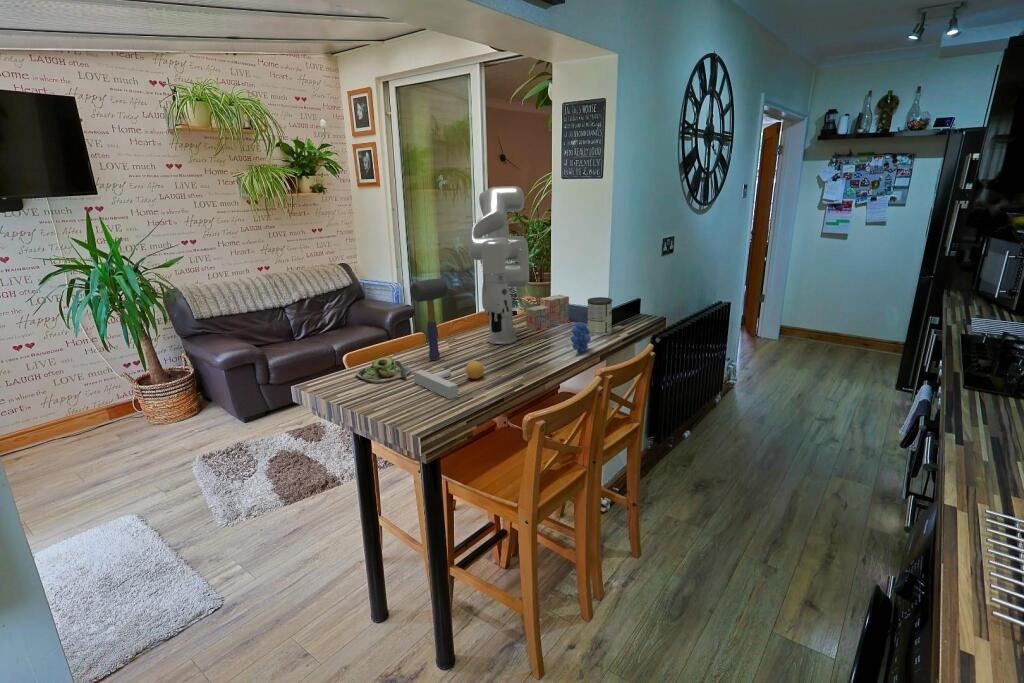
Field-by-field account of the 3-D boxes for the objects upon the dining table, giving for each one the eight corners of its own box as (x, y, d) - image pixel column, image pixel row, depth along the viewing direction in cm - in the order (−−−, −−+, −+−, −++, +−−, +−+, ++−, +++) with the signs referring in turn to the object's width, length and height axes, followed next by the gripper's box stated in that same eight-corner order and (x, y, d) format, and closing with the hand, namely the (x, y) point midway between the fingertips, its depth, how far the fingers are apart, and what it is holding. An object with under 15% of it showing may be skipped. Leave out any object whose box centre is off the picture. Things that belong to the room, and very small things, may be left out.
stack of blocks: (535, 331, 229) (535, 303, 226) (526, 328, 234) (525, 301, 230) (569, 322, 242) (569, 295, 239) (559, 319, 247) (559, 294, 244)
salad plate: (425, 375, 180) (424, 362, 179) (380, 390, 168) (379, 376, 167) (393, 363, 193) (392, 351, 192) (349, 376, 181) (348, 364, 180)
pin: (446, 369, 178) (425, 375, 173) (450, 369, 176) (429, 375, 171) (447, 376, 178) (426, 382, 173) (451, 375, 176) (430, 382, 171)
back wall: (422, 380, 174) (421, 369, 173) (458, 396, 159) (457, 384, 158) (414, 383, 172) (413, 371, 171) (450, 399, 157) (449, 387, 156)
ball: (459, 373, 173) (471, 376, 178) (471, 380, 169) (483, 382, 174) (466, 356, 173) (478, 360, 177) (478, 363, 169) (490, 366, 174)
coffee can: (587, 328, 230) (587, 297, 226) (611, 328, 228) (611, 297, 224) (587, 335, 220) (587, 302, 216) (612, 335, 218) (612, 302, 215)
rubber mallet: (426, 365, 188) (419, 283, 180) (414, 361, 194) (407, 280, 185) (454, 357, 196) (448, 278, 188) (442, 353, 202) (436, 276, 193)
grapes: (582, 358, 191) (582, 326, 187) (566, 355, 195) (566, 324, 191) (598, 350, 199) (598, 319, 196) (583, 347, 203) (583, 317, 200)
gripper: (518, 279, 170) (519, 333, 175) (488, 274, 181) (491, 325, 186) (500, 282, 165) (502, 338, 171) (471, 277, 176) (474, 329, 181)
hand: (496, 331), depth 178 cm, fingers closed
